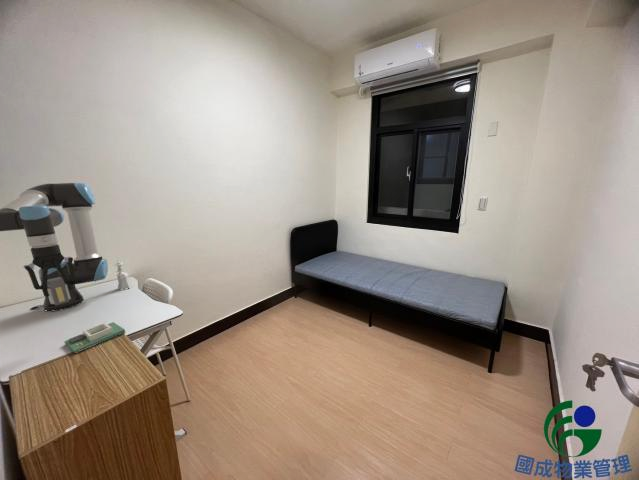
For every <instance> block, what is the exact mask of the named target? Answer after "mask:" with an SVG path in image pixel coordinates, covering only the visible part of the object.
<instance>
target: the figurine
mask: <svg viewBox="0 0 639 480" xmlns="http://www.w3.org/2000/svg"><path fill="white" fill-rule="evenodd" d="M123 264H124V262H121V261H120V260H117V262H116V263H114V265H113V266H114V267H117V270H115V271H114V272H113V274H114V273H117V275H116V276H117V277H116V279H117V282H118V284H117V285H118V286H117V289H126V288H130V287H131V286H132V287H134V284H133V283H132V281H130V278H129V273H127V272H124V271H123ZM132 287H131V288H132ZM131 288H130V289H131ZM126 290H127V289H126Z"/></svg>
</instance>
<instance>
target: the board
mask: <svg viewBox="0 0 639 480" xmlns="http://www.w3.org/2000/svg"><path fill="white" fill-rule="evenodd" d="M125 333H126V330H125V328H123V327H121V326H120V325H118V324H117V323H115V322H110V323H106V322H102V323H100V324H99V323H98V324H97V325H95V326H92V327H89V328H86V329H84V330H82V333H81V334H78V335H76V336H73V337H71V338H68V339H67V340H65V341H64V344H65V346H66V347H67V348H68V349H69V350H71V352H72V353H73V352H78V351H79V350H82V349H85V348H87V347H89V346H92V345H94V344H97V343H100V342H102V341H104V340H107V339H109V340H111V339H110V338H112V337H114V336H116V337H118V336H117V335H119V336H120V334H121V335H123V334H125ZM114 338H115V337H114ZM112 339H113V338H112ZM107 341H108V340H107ZM102 343H103V342H102ZM100 344H101V343H100Z"/></svg>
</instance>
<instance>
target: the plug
mask: <svg viewBox="0 0 639 480" xmlns="http://www.w3.org/2000/svg"><path fill="white" fill-rule="evenodd" d="M47 285H48V287H49V288H50V289H51V293H52V296H53V299H54V303H55V304H54V305H59V304H62V303H65V302H69V298H68V295H67V291H66V288H65V284H64V281H63V278H61V277H58V278H53V279H49V280H47Z"/></svg>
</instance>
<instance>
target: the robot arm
mask: <svg viewBox="0 0 639 480" xmlns="http://www.w3.org/2000/svg"><path fill="white" fill-rule="evenodd" d="M95 204H96V198H95V195H94V193H93V191H92V189H91V187H90V186H89V185H88V184H86V183H85V182H84V183H83V182H67V183H66V182H64V183H63V182H62V183H44V184H39V185H36V186H33V187H30V188H28V189H26V190H24V191H22V192H21V193H20V194H19V197H17V198H16V199H14V200H12V201H10V202H9V203H7V204H5V205H4V206H2V207H1V208H0V232H8V231H9V232H10V231H20V230H21V231H22V230H24V232H25V235H26V239H27V242H28V246H29V247H30V252H31V256H32V261H31V263H29V264H26V265H23V269H25V270H26V271H27V273H28V275H29V277H30V281H31V284H32V286H33V288H34V289H35V290H41V291H42V294H43V296H44V301H43V310H44V311H45V310H47V311H46V312H48V311H51V312H53V311H52V310H58V311H61V310H60V309H63V310H66V309H65V308H67V309H70V308H72V306H73V307H75V306H78V305H79V303H80V304H82V303H83V302H84V296H83V294H82V293H81V292H80V291H79V290H78V288H77V287H76V285H79V284H86V283H91V282H92V283H93V282H97V281H103V280H105V279H106V278H107V276H108V272H109V271H108V270H109V267H108V266H109V264H108V263H109V262H108V260H107V259H106V258H103V256H102V255H101V254H99V253H98V249H97V243H96V238H95V234H94V228H93V224H92V218H91V213H90V211H91V210H92V208H93V206H92V205H95ZM49 207H61V208H62V210H63V211H65V212H66V213H67V216H68V221H69V225H70V226H69V227H70V231H71V232H70V233H71V236H72V240H73V244H74V250H75V254H76V256H75V258H73V257H72V256H64V254H63V255H62V253H61V249H60V248H61V247H60V245H59V244H58V238H57V235H56V230H55V228H56V227H57V226H60V225H61V224H62V223H63V222H64V221H65V215H64V214H63V212H61V211H60V210H58V209H56V208H49ZM35 266H36V267H38V268H39V269H38V276H39V277H37V275H36V274H35V271H34V269H35ZM58 277H61V278H63V281H64V284H65V288H66V291H67V295H68V298H69V302H65V303H62V304H59V305H54V304H55V303H54V299H53V296H52V293H51V289H50V288H49V287H48V285H47V280H49V279H53V278H58ZM38 278H39V281H40V284H39V281H38ZM82 301H83V302H82ZM77 304H78V305H77ZM69 307H70V308H69Z"/></svg>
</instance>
